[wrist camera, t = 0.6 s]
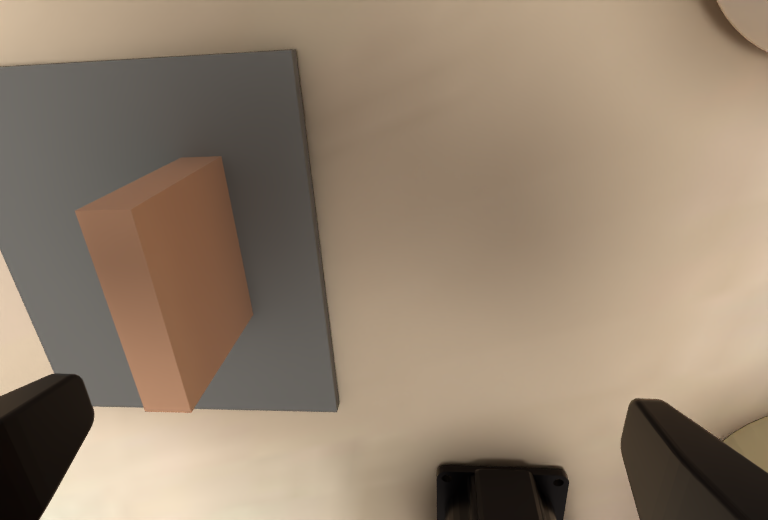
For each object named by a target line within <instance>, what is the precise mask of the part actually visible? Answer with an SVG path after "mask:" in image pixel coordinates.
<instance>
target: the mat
mask: <svg viewBox="0 0 768 520" xmlns="http://www.w3.org/2000/svg"><path fill="white" fill-rule="evenodd" d="M212 156H221V157H222V162H223V167H224V172H225V177H226V182H227V187H228V192H229V197H230V202H231V207H232V212H233V217H234V221H235V226H236V231H237V236H238V241H239V246H240V251H241V256H242V261H243V266H244V271H245V276H246V281H247V286H248V291H249V296H250V301H251V306H252V311H253V316H252V317H251V319H250V321H249V322H248V324H247V325H246V327H245V329H244V330H243V332H242V333H241V335H240V336H239V338H238V340H237V341H236V343H235V344H234V346H233V348H232V349H231V351H230V352H229V354H228V355H227V357H226V359H225V360H224V362H223V363H222V365H221V367H220V368H219V370H218V371H217V373H216V374H215V376H214V378H213V379H212V381H211V382H210V384H209V385H208V387H207V389H206V390H205V392H204V393H203V395H202V397H201V398H200V400H199V401H198V403H197V404H196V406H195V408H194V409H227V410H269V411H311V412H337V410H338V406H339V397H338V389H337V381H336V373H335V365H334V357H333V349H332V341H331V332H330V324H329V316H328V308H327V300H326V292H325V284H324V276H323V267H322V259H321V251H320V243H319V235H318V227H317V219H316V210H315V202H314V194H313V186H312V178H311V170H310V162H309V154H308V145H307V137H306V129H305V121H304V113H303V105H302V97H301V89H300V80H299V72H298V64H297V56H296V49H294V50H277V51H260V52H243V53H226V54H209V55H192V56H175V57H158V58H141V59H124V60H107V61H90V62H73V63H56V64H39V65H22V66H5V67H0V250H1V253H2V255H3V257H4V259H5V262H6V264H7V266H8V269H9V271H10V273H11V275H12V278H13V280H14V282H15V285H16V287H17V289H18V291H19V294H20V296H21V298H22V301H23V303H24V305H25V307H26V310H27V312H28V314H29V316H30V319H31V321H32V323H33V326H34V328H35V330H36V332H37V335H38V337H39V339H40V342H41V344H42V346H43V348H44V351H45V353H46V355H47V358H48V360H49V362H50V364H51V367H52V369H53V371H54V374H55V373H62V374H76V375H79V376H80V377H81V378H82V379H83V381H84V384H85V387H86V389H87V392H88V395H89V398H90V401H91V404H92V406H100V407H142V408H144V407H143V404H142V401H141V398H140V395H139V392H138V390H137V387H136V384H135V381H134V378H133V375H132V373H131V370H130V367H129V364H128V361H127V358H126V355H125V353H124V350H123V347H122V344H121V341H120V338H119V336H118V333H117V330H116V327H115V324H114V321H113V318H112V316H111V313H110V310H109V307H108V304H107V301H106V299H105V296H104V293H103V290H102V287H101V284H100V281H99V279H98V276H97V273H96V270H95V267H94V264H93V262H92V259H91V256H90V253H89V250H88V247H87V245H86V242H85V239H84V236H83V233H82V230H81V227H80V225H79V222H78V219H77V216H76V213H75V210H77V209H79V208H81V207H83V206H85V205H87V204H89V203H91V202H93V201H95V200H97V199H99V198H101V197H103V196H105V195H107V194H109V193H111V192H113V191H115V190H117V189H119V188H121V187H123V186H125V185H127V184H129V183H131V182H133V181H135V180H137V179H139V178H141V177H143V176H145V175H147V174H149V173H151V172H153V171H155V170H157V169H159V168H161V167H163V166H165V165H167V164H169V163H171V162H173V161H175V160H177V159H179V158H183V157H212Z"/></svg>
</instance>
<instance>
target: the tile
mask: <svg viewBox="0 0 768 520" xmlns="http://www.w3.org/2000/svg"><path fill="white" fill-rule="evenodd" d="M75 213H76V216H77V219H78V222H79V225H80V227H81V230H82V233H83V236H84V239H85V242H86V245H87V247H88V250H89V253H90V256H91V259H92V262H93V264H94V267H95V270H96V273H97V276H98V279H99V281H100V284H101V287H102V290H103V293H104V296H105V299H106V301H107V304H108V307H109V310H110V313H111V316H112V318H113V321H114V324H115V327H116V330H117V333H118V336H119V338H120V341H121V344H122V347H123V350H124V353H125V355H126V358H127V361H128V364H129V367H130V370H131V373H132V375H133V378H134V381H135V384H136V387H137V390H138V392H139V395H140V398H141V401H142V404H143V407H144V410H145V412H184V413H191V412H192V411H193V409H194V408H195V406H196V404H197V403H198V401H199V400H200V398H201V397H202V395H203V393H204V392H205V390H206V389H207V387H208V385H209V384H210V382H211V381H212V379H213V378H214V376H215V374H216V373H217V371H218V370H219V368H220V367H221V365H222V363H223V362H224V360H225V359H226V357H227V355H228V354H229V352H230V351H231V349H232V348H233V346H234V344H235V343H236V341H237V340H238V338H239V336H240V335H241V333H242V332H243V330H244V329H245V327H246V325H247V324H248V322H249V321H250V319H251V317H252V316H253V311H252V306H251V301H250V296H249V291H248V286H247V281H246V276H245V271H244V266H243V261H242V256H241V251H240V246H239V241H238V236H237V231H236V226H235V221H234V217H233V212H232V207H231V202H230V197H229V192H228V187H227V182H226V177H225V172H224V167H223V162H222V157H221V156H212V157H183V158H179V159H177V160H175V161H173V162H171V163H169V164H167V165H165V166H163V167H161V168H159V169H157V170H155V171H153V172H151V173H149V174H147V175H145V176H143V177H141V178H139V179H137V180H135V181H133V182H131V183H129V184H127V185H125V186H123V187H121V188H119V189H117V190H115V191H113V192H111V193H109V194H107V195H105V196H103V197H101V198H99V199H97V200H95V201H93V202H91V203H89V204H87V205H85V206H83V207H81V208H79V209H77V210H75Z"/></svg>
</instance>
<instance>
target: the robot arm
mask: <svg viewBox="0 0 768 520" xmlns="http://www.w3.org/2000/svg"><path fill="white" fill-rule="evenodd" d="M93 421H94V409H93V407H92V404H91V401H90V398H89V395H88V392H87V389H86V387H85V384H84V381H83V379H82V378H81V377H80V376H79V375H76V374H62V373H55V374H51V375H48V376H46V377H44V378H41V379H39V380H37V381H34V382H32V383H30V384H27V385H25V386H23V387H21V388H18V389H16V390H14V391H11V392H9V393H7V394H4V395H2V396H0V520H39V519H40V517H41V516H42V514H43V513H44V511H45V509H46V508H47V506H48V504H49V503H50V501H51V499H52V497H53V496H54V494H55V492H56V490H57V488H58V487H59V485H60V483H61V481H62V479H63V478H64V476H65V474H66V472H67V470H68V469H69V467H70V465H71V463H72V461H73V459H74V458H75V456H76V454H77V452H78V450H79V449H80V447H81V445H82V443H83V441H84V440H85V438H86V436H87V434H88V432H89V431H90V429H91V427H92V424H93ZM621 452H622V457H623V461H624V464H625V468H626V472H627V475H628V479H629V482H630V486H631V490H632V493H633V497H634V500H635V504H636V508H637V511H638V515H639V518H640V520H768V473H767V472H766V471H764V470H763V469H762V468H760V467H759V466H757V465H756V464H754V463H753V462H751V461H750V460H749V459H747V458H746V457H744V456H743V455H741V454H740V453H738V452H737V451H736V450H734V449H733V448H731V447H730V446H728V445H727V444H725V443H724V442H723V441H721V440H720V439H718V438H717V437H715V436H714V435H712V434H711V433H709V432H708V431H707V430H705V429H704V428H702V427H701V426H699V425H698V424H696V423H695V422H694V421H692V420H691V419H689V418H688V417H686V416H685V415H683V414H682V413H681V412H679V411H678V410H676V409H675V408H673V407H672V406H670V405H669V404H668V403H666V402H664V401H662V400H659V399H641V398H636V399H634V400H632V401H631V402H630V404H629V407H628V411H627V415H626V420H625V424H624V428H623V433H622V437H621ZM446 475H447V476H446ZM556 479H557V480H556ZM568 486H569V480H568V477H567V474H566V472H565V471H563V470H561V469H546V468H517V467H488V466H460V465H443V466H440V467H439V468H438V469H437V520H563V517H564V511H565V505H566V498H567V492H568Z"/></svg>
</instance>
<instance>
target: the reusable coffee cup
mask: <svg viewBox="0 0 768 520" xmlns="http://www.w3.org/2000/svg"><path fill="white" fill-rule="evenodd" d="M723 442H724V443H725V444H727V445H728V446H730V447H731V448H733V449H734V450H736V451H737V452H738V453H740V454H741V455H743V456H744V457H746V458H747V459H749V460H750V461H751V462H753V463H754V464H756V465H757V466H759V467H760V468H762V469H763V470H764V471H766V472H767V473H768V416H766V417H764V418H762V419H759V420H757V421H755V422H752V423H750V424H748V425H746V426H744V427H743V428H741V429H739V430H738V431H736V432H734V433H733V434H731V435H730V436H729V437H727V438H726V439H725V440H724V441H723Z"/></svg>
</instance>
